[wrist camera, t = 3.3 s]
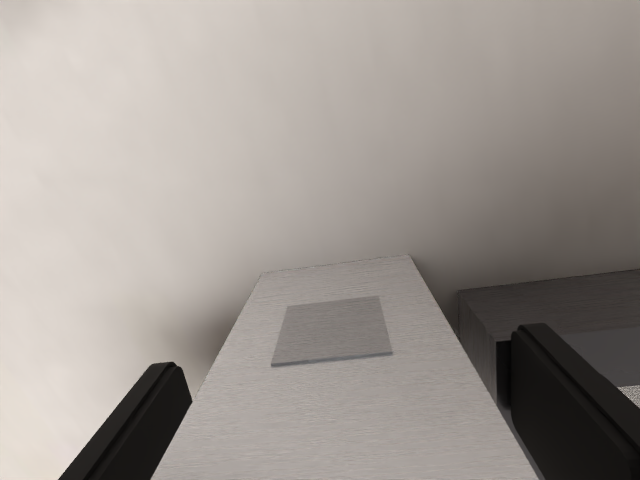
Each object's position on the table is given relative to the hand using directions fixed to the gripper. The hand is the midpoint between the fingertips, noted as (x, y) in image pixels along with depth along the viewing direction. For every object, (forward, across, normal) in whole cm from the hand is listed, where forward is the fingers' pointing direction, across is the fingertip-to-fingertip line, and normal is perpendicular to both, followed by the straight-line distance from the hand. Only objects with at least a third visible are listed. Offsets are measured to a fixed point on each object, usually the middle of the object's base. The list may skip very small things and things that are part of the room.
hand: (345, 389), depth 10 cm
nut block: (+3, 0, 0) cm, 3 cm away
